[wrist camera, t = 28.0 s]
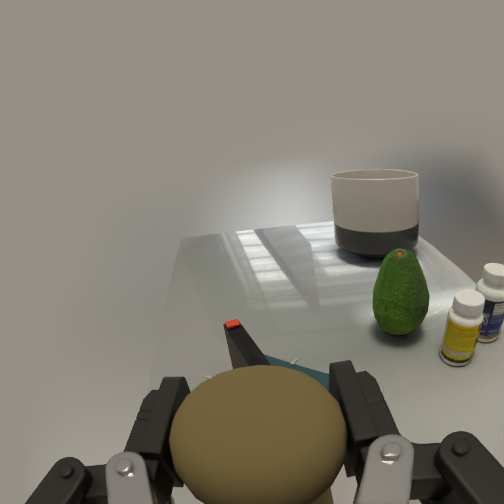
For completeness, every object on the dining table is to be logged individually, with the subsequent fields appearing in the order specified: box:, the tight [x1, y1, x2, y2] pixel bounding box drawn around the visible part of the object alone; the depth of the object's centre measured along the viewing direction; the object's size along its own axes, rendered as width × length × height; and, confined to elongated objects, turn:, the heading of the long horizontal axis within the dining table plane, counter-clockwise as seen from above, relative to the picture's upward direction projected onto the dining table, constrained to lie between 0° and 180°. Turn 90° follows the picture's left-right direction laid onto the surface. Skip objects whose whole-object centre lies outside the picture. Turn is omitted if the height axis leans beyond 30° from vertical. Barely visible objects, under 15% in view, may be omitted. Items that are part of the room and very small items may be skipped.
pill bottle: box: [475, 263, 504, 342], centre depth 30 cm, size 5×5×10 cm
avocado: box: [373, 248, 429, 335], centre depth 35 cm, size 8×8×12 cm
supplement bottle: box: [440, 289, 485, 366], centre depth 29 cm, size 5×5×8 cm
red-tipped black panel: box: [224, 319, 272, 369], centre depth 26 cm, size 11×2×7 cm, turn 22°
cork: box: [169, 365, 348, 504], centre depth 9 cm, size 6×6×11 cm
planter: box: [331, 169, 419, 258], centre depth 62 cm, size 19×19×18 cm
